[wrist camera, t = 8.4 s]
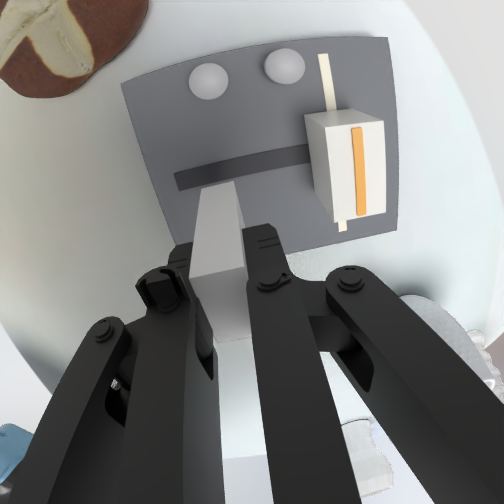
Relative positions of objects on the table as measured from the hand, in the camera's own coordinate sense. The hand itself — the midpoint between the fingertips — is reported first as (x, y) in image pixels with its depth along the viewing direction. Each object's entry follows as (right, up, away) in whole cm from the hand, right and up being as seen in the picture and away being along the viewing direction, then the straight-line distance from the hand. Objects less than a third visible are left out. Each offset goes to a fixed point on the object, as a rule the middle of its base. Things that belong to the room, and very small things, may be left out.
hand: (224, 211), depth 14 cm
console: (+3, +5, +5) cm, 8 cm away
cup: (+20, -35, +34) cm, 53 cm away
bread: (-11, +14, -1) cm, 18 cm away
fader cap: (+6, +4, +3) cm, 8 cm away
